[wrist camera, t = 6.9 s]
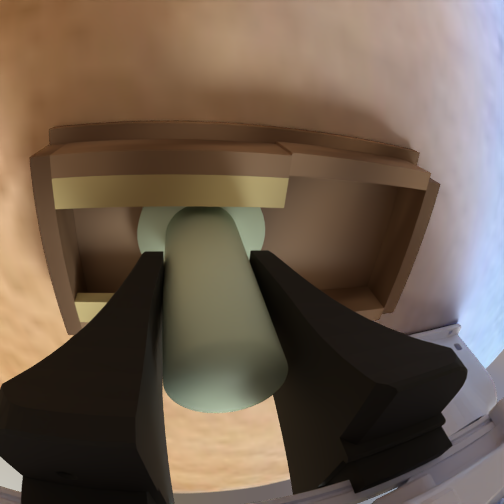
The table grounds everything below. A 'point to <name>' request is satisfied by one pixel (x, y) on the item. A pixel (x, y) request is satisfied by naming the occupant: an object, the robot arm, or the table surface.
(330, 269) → the keyhole track
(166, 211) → the peg
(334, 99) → the table surface
